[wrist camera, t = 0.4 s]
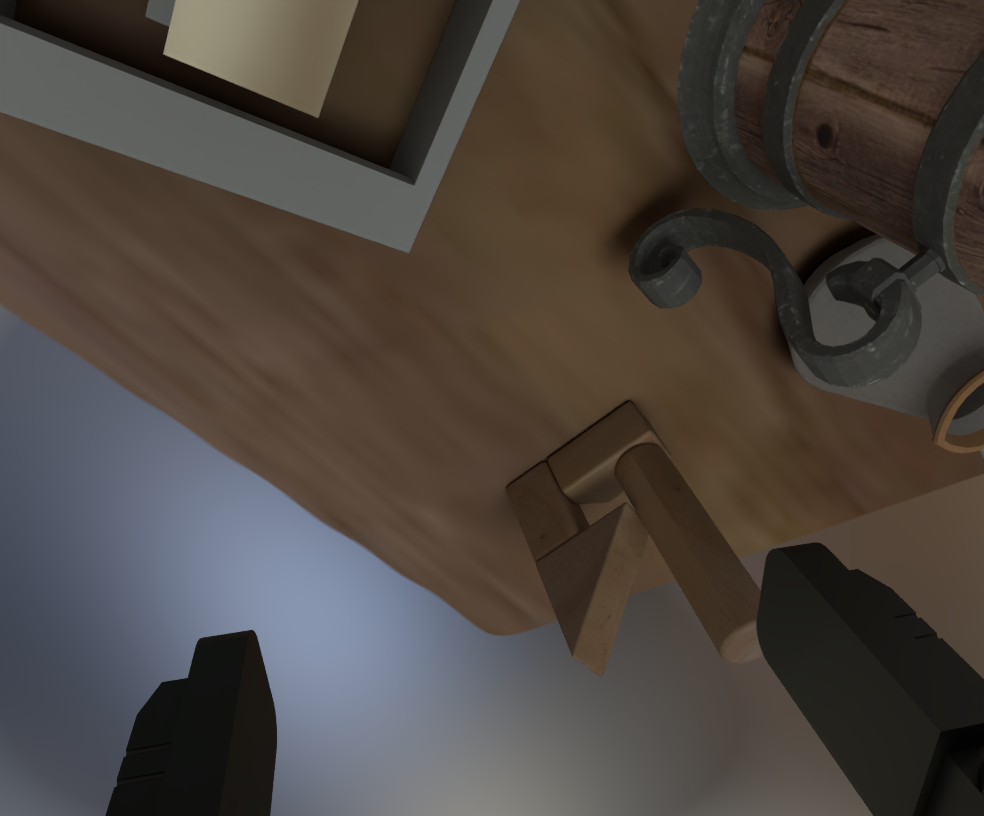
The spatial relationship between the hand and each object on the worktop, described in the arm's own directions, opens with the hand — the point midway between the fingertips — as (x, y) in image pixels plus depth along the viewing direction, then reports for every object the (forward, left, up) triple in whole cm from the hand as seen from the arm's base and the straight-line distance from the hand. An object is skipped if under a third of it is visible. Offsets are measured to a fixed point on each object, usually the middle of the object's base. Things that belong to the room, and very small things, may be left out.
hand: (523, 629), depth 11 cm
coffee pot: (+39, -1, -30) cm, 49 cm away
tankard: (+21, +9, -30) cm, 38 cm away
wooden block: (+23, -16, -30) cm, 41 cm away
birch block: (-5, +4, -27) cm, 28 cm away
